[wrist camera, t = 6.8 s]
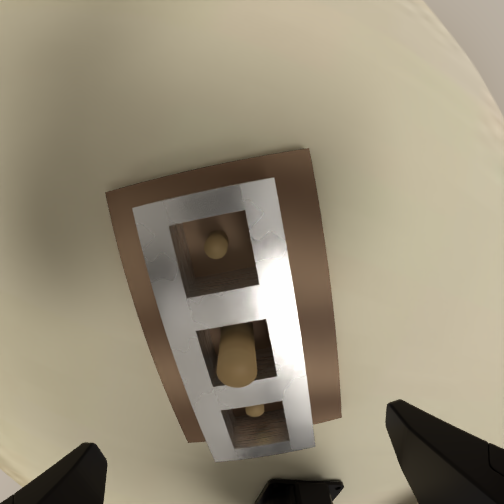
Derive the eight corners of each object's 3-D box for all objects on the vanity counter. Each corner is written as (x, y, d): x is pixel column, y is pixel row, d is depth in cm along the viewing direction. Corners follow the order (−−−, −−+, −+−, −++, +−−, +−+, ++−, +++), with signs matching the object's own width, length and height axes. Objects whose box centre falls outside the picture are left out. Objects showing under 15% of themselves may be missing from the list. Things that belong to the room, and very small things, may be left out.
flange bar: (306, 415, 18) (315, 446, 15) (217, 430, 18) (215, 462, 15) (267, 177, 15) (274, 177, 12) (150, 202, 15) (132, 208, 12)
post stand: (338, 409, 19) (359, 463, 14) (189, 434, 19) (180, 490, 14) (305, 149, 15) (334, 137, 10) (111, 191, 15) (63, 198, 10)
